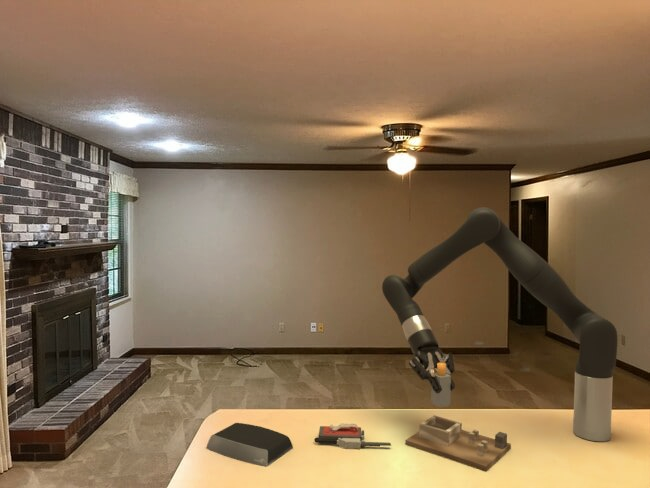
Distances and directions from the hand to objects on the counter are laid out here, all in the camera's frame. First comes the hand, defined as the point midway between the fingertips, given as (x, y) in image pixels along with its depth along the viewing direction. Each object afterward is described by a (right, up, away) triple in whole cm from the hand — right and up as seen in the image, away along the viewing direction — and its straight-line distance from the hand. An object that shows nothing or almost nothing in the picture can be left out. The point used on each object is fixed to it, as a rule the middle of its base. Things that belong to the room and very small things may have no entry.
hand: (445, 390), depth 134 cm
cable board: (+3, -14, -1) cm, 15 cm away
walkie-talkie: (-25, -15, +2) cm, 29 cm away
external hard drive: (-51, -15, -3) cm, 53 cm away
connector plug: (-1, -4, +2) cm, 5 cm away
